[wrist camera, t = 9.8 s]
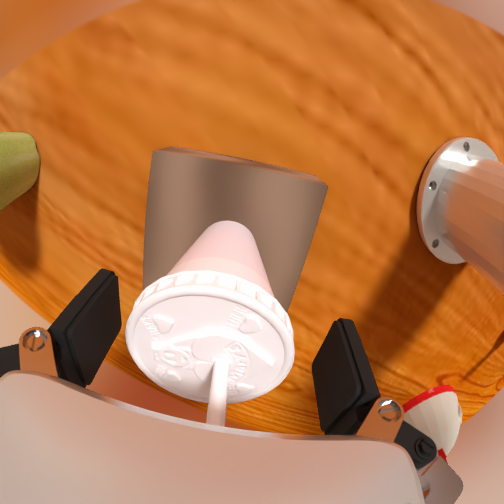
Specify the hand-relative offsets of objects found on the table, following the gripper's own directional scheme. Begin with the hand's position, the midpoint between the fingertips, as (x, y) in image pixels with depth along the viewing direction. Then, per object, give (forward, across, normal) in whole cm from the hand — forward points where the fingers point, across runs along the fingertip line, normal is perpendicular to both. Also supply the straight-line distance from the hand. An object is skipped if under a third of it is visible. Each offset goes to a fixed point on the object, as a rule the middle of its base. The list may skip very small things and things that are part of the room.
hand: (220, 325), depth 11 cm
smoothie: (+8, 0, 0) cm, 8 cm away
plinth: (+12, +1, 0) cm, 12 cm away
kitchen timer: (+13, -38, +26) cm, 48 cm away
